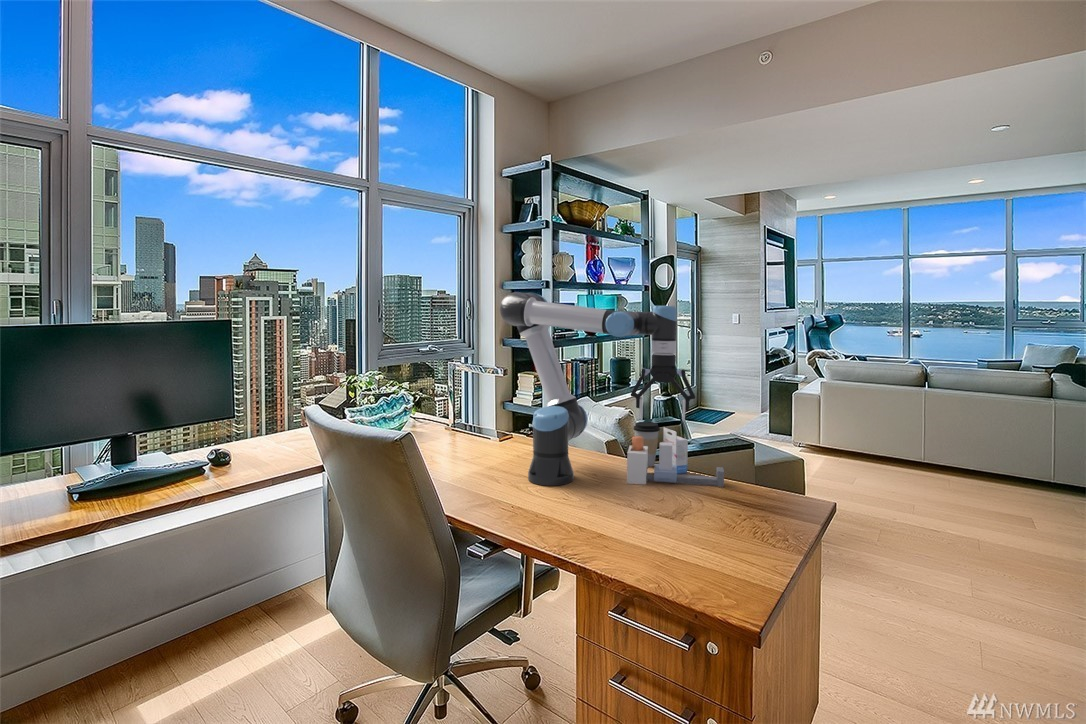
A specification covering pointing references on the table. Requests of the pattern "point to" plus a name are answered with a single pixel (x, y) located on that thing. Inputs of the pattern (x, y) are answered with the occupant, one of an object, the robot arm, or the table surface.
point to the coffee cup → (648, 438)
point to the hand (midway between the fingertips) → (661, 419)
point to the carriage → (665, 464)
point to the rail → (696, 479)
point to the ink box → (677, 449)
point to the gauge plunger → (637, 443)
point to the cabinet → (637, 465)
